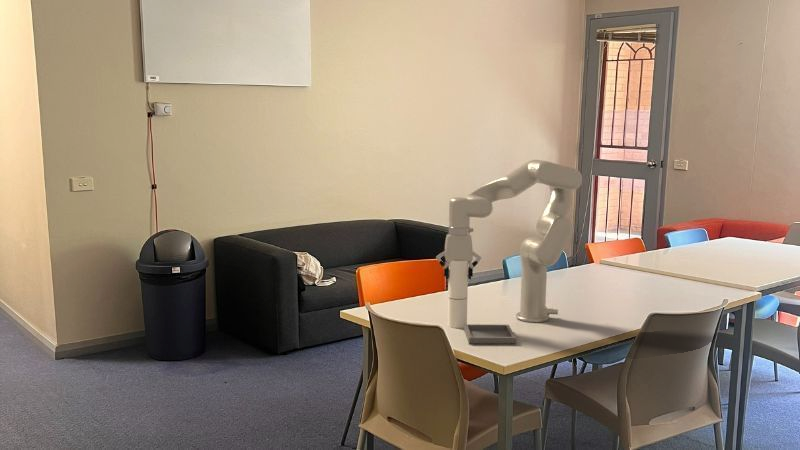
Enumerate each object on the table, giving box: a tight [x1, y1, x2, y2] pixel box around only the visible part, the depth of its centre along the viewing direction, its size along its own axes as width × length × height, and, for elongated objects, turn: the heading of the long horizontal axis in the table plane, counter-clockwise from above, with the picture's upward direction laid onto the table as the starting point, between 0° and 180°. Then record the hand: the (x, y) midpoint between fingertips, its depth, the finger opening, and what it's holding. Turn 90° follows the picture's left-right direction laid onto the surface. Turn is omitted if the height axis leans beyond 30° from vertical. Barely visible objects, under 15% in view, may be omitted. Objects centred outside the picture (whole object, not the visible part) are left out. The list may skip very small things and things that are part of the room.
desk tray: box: [464, 323, 517, 346], centre depth 263 cm, size 16×16×2 cm
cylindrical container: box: [447, 261, 469, 329], centre depth 276 cm, size 7×7×25 cm
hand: (458, 278), depth 276 cm, fingers open, 7 cm apart
